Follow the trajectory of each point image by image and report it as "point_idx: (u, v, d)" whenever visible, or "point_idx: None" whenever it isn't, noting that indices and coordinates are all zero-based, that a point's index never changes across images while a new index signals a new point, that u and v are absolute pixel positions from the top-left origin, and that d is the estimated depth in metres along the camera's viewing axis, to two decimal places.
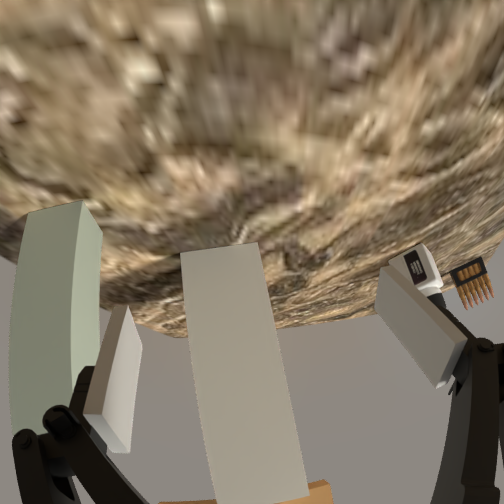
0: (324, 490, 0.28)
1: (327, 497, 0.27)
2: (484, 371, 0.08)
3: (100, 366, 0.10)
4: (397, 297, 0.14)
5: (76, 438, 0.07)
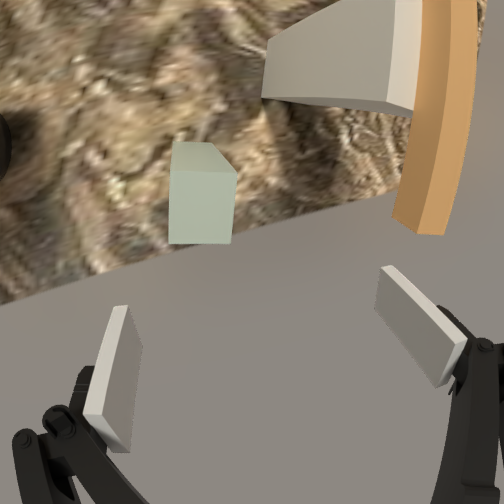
0: None
1: None
2: (484, 371, 0.08)
3: (100, 366, 0.10)
4: (397, 297, 0.14)
5: (76, 438, 0.07)
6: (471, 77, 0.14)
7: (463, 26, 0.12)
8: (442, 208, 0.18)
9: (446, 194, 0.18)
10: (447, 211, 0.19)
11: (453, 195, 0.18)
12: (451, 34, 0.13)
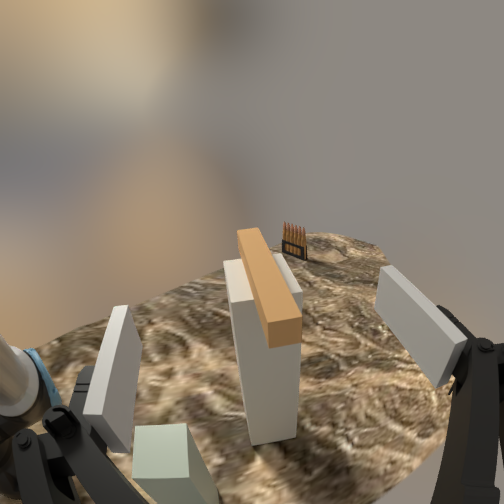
0: (239, 247, 0.45)
1: (238, 239, 0.44)
2: (484, 371, 0.08)
3: (100, 366, 0.10)
4: (397, 297, 0.14)
5: (76, 438, 0.07)
6: (268, 256, 0.36)
7: (253, 245, 0.39)
8: (284, 305, 0.27)
9: (282, 299, 0.28)
10: (292, 305, 0.27)
11: (291, 297, 0.28)
12: (244, 251, 0.38)
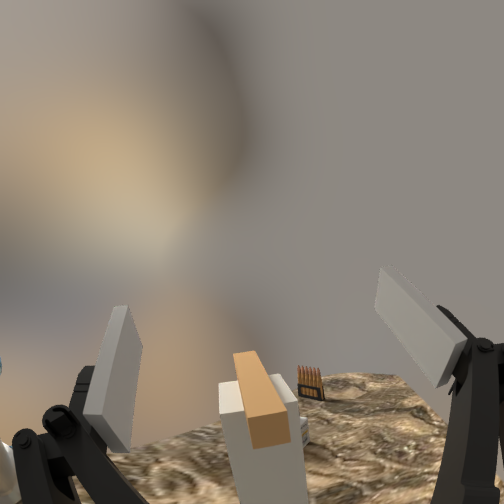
0: None
1: None
2: (484, 371, 0.08)
3: (100, 366, 0.10)
4: (397, 297, 0.14)
5: (76, 438, 0.07)
6: (260, 369, 0.33)
7: (246, 363, 0.36)
8: (269, 403, 0.23)
9: (267, 399, 0.24)
10: (277, 403, 0.23)
11: (277, 397, 0.24)
12: (237, 367, 0.35)
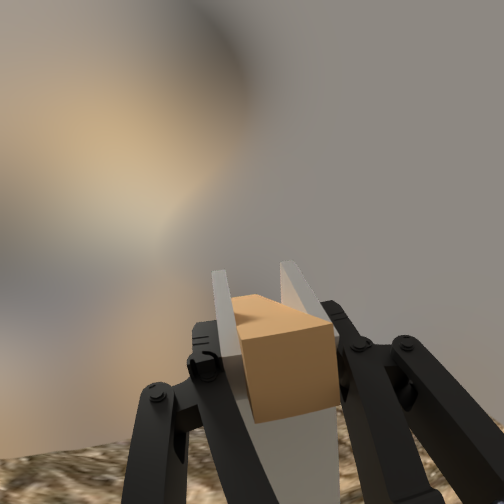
0: None
1: None
2: (368, 373, 0.09)
3: (222, 317, 0.13)
4: (289, 290, 0.15)
5: (215, 384, 0.10)
6: (265, 301, 0.21)
7: (244, 300, 0.25)
8: (288, 321, 0.12)
9: (283, 318, 0.13)
10: (306, 318, 0.12)
11: (303, 314, 0.13)
12: None
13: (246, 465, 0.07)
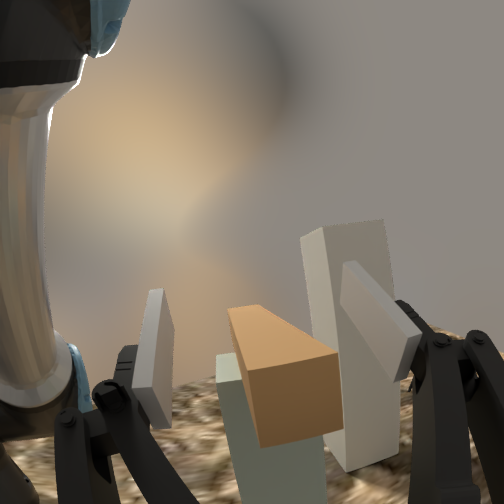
0: None
1: None
2: (444, 367, 0.09)
3: (144, 343, 0.12)
4: (357, 291, 0.15)
5: (124, 413, 0.09)
6: (268, 315, 0.21)
7: (246, 313, 0.24)
8: (293, 347, 0.11)
9: (288, 341, 0.12)
10: (311, 344, 0.11)
11: (307, 337, 0.13)
12: (231, 317, 0.23)
13: (172, 491, 0.06)
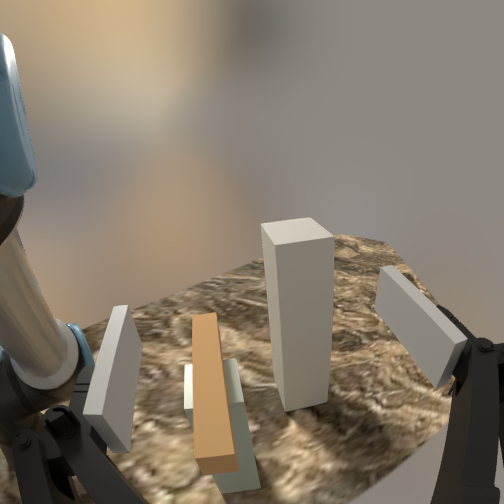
0: None
1: None
2: (484, 371, 0.08)
3: (100, 366, 0.10)
4: (397, 297, 0.14)
5: (76, 438, 0.07)
6: (216, 360, 0.30)
7: (204, 341, 0.33)
8: (218, 436, 0.21)
9: (217, 426, 0.22)
10: (226, 436, 0.21)
11: (227, 425, 0.22)
12: (193, 349, 0.32)
13: None
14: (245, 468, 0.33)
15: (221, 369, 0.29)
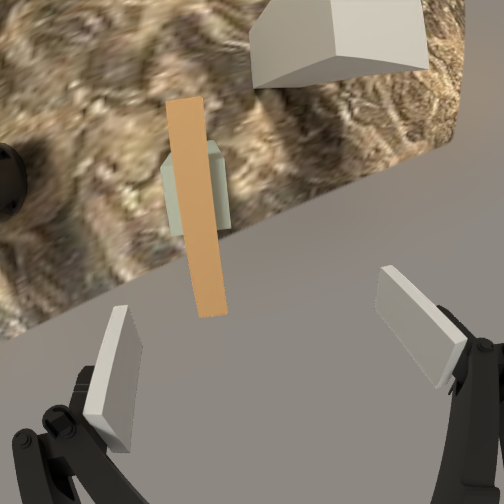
0: None
1: None
2: (484, 371, 0.08)
3: (100, 366, 0.10)
4: (397, 297, 0.14)
5: (76, 438, 0.07)
6: (208, 204, 0.27)
7: (189, 167, 0.25)
8: (215, 299, 0.31)
9: (214, 291, 0.30)
10: (222, 300, 0.31)
11: (222, 289, 0.31)
12: (177, 183, 0.25)
13: None
14: None
15: (214, 220, 0.27)
